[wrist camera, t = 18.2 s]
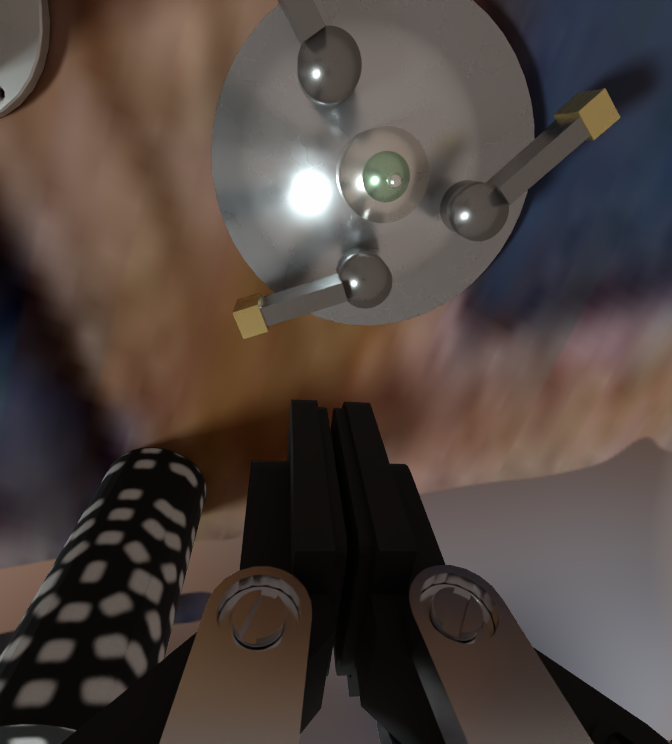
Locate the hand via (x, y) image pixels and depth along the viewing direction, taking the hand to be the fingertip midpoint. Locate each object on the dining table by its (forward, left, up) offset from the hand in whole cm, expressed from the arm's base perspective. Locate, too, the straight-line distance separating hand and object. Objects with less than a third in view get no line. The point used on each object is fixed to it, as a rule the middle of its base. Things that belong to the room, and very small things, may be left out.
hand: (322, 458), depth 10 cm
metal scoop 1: (-11, +6, -22) cm, 25 cm away
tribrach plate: (-2, +6, -24) cm, 25 cm away
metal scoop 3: (+2, +13, -22) cm, 26 cm away
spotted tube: (+10, -22, -24) cm, 34 cm away
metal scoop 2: (+2, -1, -22) cm, 22 cm away
